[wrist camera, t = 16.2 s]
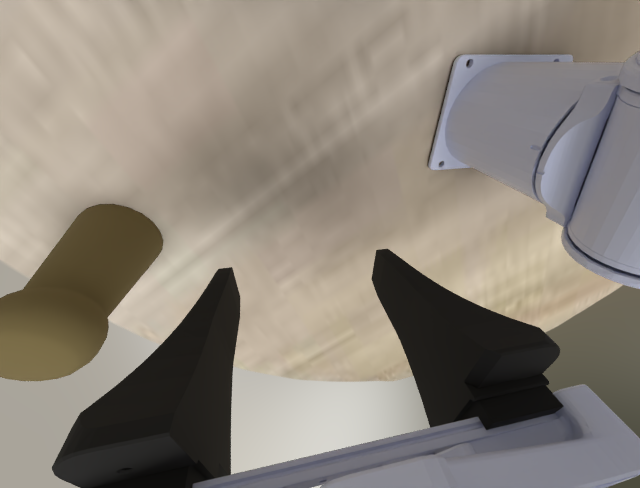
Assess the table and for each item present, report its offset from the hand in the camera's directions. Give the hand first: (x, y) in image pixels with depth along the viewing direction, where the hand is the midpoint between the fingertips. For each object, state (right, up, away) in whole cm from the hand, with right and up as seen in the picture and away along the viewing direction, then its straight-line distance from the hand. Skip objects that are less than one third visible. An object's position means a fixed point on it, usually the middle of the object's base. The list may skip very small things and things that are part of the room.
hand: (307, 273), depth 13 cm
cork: (-16, +2, +8) cm, 18 cm away
